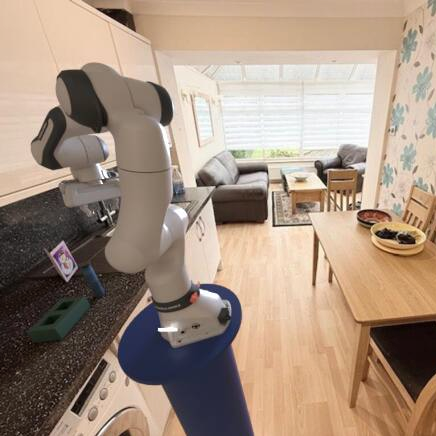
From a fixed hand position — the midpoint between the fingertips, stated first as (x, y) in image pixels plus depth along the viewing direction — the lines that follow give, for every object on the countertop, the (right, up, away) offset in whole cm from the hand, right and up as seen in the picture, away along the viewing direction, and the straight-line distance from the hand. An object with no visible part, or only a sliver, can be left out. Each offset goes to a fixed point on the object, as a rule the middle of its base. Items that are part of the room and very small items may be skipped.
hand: (104, 212), depth 91 cm
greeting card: (-30, -28, +16) cm, 44 cm away
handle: (-4, -32, +3) cm, 33 cm away
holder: (-7, -38, -9) cm, 40 cm away
